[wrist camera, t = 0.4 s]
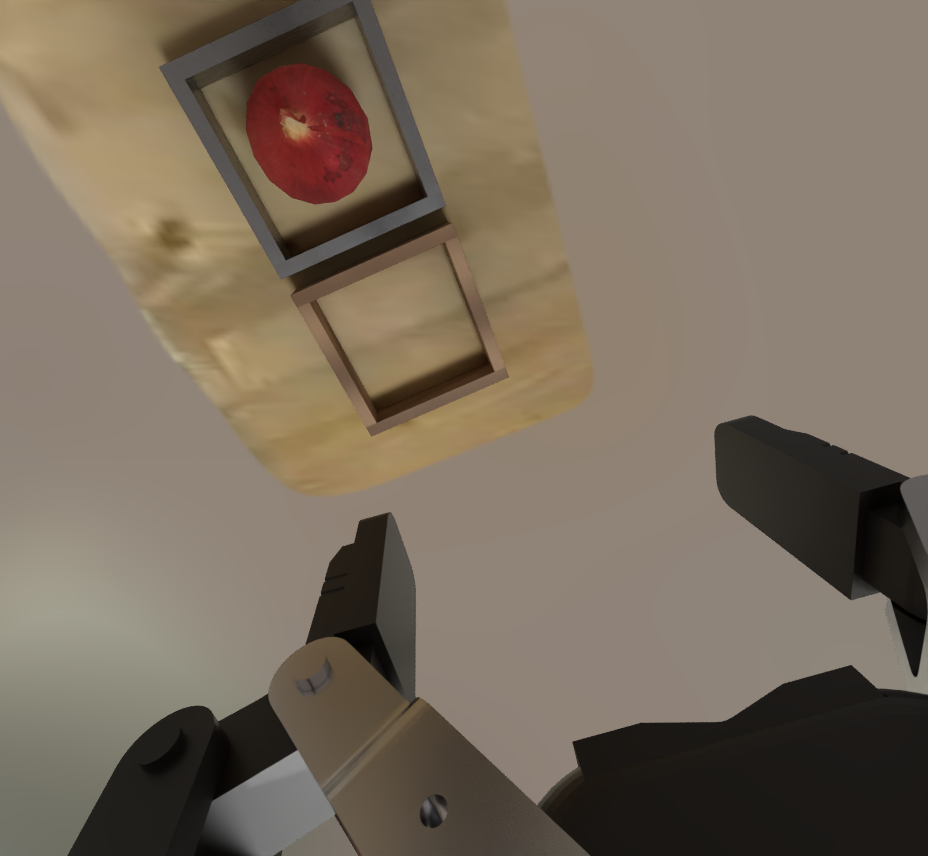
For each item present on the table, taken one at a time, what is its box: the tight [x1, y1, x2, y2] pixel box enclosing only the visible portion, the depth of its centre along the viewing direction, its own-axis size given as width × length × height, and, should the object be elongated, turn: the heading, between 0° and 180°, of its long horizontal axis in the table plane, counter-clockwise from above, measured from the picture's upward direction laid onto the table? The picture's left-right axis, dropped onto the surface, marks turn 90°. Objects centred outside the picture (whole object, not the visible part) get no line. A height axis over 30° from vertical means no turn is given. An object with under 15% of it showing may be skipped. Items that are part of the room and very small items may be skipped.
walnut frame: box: [290, 222, 509, 437], centre depth 30 cm, size 11×11×2 cm
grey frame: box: [159, 0, 446, 279], centre depth 25 cm, size 11×11×2 cm
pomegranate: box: [246, 63, 372, 204], centre depth 22 cm, size 6×6×8 cm
